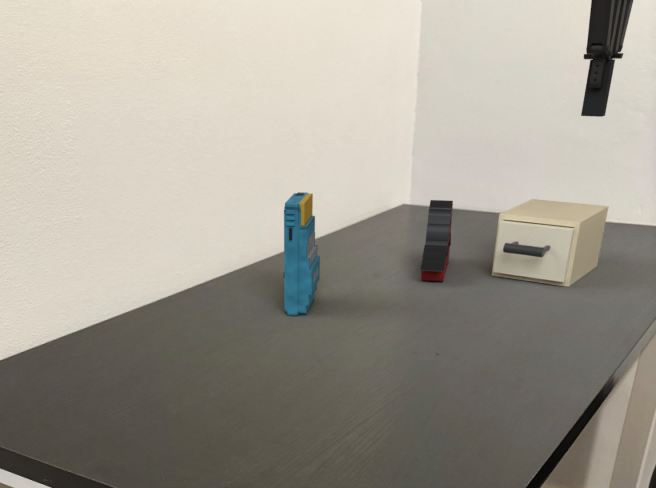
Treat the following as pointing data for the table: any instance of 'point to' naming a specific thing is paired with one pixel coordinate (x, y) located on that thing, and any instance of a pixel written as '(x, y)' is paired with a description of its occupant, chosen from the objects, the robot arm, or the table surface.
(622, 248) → the table surface
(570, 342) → the table surface
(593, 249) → the cabinet
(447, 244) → the extruded letter emblem
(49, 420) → the table surface
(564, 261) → the drawer
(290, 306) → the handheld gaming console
